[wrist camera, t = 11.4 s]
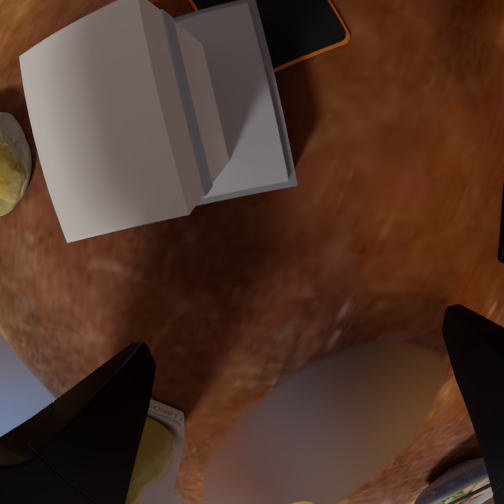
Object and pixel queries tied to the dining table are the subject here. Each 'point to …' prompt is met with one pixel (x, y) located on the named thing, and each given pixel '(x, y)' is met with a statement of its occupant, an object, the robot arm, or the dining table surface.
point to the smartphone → (295, 28)
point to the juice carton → (157, 456)
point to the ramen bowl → (459, 485)
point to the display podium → (243, 100)
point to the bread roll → (13, 163)
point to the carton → (123, 119)
